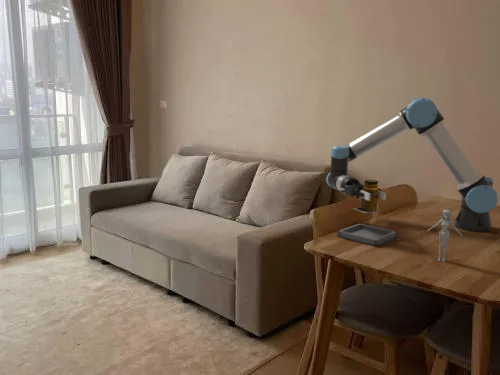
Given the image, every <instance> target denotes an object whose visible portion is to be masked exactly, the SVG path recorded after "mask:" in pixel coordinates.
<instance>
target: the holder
mask: <svg viewBox="0 0 500 375" xmlns="http://www.w3.org/2000/svg"><path fill="white" fill-rule="evenodd" d="M397 234H398V232H397V231H395V230H390V229H386V228H383V227H377V226H372V225H369V224H365V223H364V224H363V223H356V224H354V225H352V226H349V227H348V226H347V227H345V228H343V229H340V230H337V238H340V237H341V239H344V238H345V239H344V240H348V239H349V240H348V241H352V242H355V241H356V243H360V244H364V245H368V246H371V247H379V246H381V245H383V244H385V243H387V242H390V241H392V240H394V239H397V237H398V236H397Z"/></svg>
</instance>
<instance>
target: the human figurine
mask: <svg viewBox="0 0 500 375" xmlns="http://www.w3.org/2000/svg"><path fill="white" fill-rule="evenodd" d="M441 216H442V217H441V219H440V220H439V221H437V223H436V224H433V225H432V226H431V227H430V228H428V229H427V232H429V231H430V230H431V229H433V228H435V227H437V226H438V225H441V227H442V228H441V229H440V230H439V232H438V242H439V245H438V248H439V249H438V259H437V260H438V261H439V262H440V261H442V262H445V261H446V253H447V244H448V242H449V239H450V235H451V233H450V230H448V228H449V227H450V226H451V227H453V229H454V230H455V231H456V232H457V233H458V234H459V235H460V236H461V237H462V238H463V237H464V236H463V234H462V233H461V232H460V231H459V230H458V229H459V228H458V227H456V226H455V225H454V224H453V222H452V220H451V218H452V211H451V210H449V209H443V211H442V215H441ZM442 250H443V253H442ZM442 254H443V257H441V256H442ZM441 258H442V260H441Z"/></svg>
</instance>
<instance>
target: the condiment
mask: <svg viewBox="0 0 500 375" xmlns="http://www.w3.org/2000/svg"><path fill="white" fill-rule="evenodd" d="M378 183H379V181H378V180H375V179H365V180H364V182H363V185H364V187H363V191H365V192H368V193H370V201H368V200H366V199H363V198H361V203H360V204H361V207H353V210H355V211H358V212H361V213H365V214H367V213H368V214H369V213H376V212H381V210H380V209H378V199H379V198H378V188H379V187H378V186H379V184H378Z"/></svg>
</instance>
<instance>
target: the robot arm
mask: <svg viewBox="0 0 500 375" xmlns="http://www.w3.org/2000/svg"><path fill="white" fill-rule="evenodd" d="M444 123H445V118H444V116H443V115H442V113H441V112H440V111H439V109H438V107H437V106H436V104H435V103H434V101H433V100H432V99H430V98H427V97H418V98H415V99H413V100H412V101H410V103H409V104H408V105H406V107H404V108H403V109H401V110H400V111H398V114H397V115H396V116H393V117H392V118H390V119H389V120H387V121H385V122H383V123H382V124H380V125H378V126H377V127H375V128H373V129H371V130H370V131H368V132H367V133H364V134H363V135H361V136H359V137H358V138H357V139H354V140H353V141H351V142H349V143H348V144H346V145H344V146H343V145H334V146H332V148H331V153H330V154H331V156H330V157H331V159H330V172H329V173H327V176H326V178H325V182H326V184H327V185H328V186H329V187H330V188H332V189H334V190H337V191H340V192H341V193H343V194H344V195H348V196H351V197H355V198H356V199H360V198H361V199H362V198H363V199H366V200H368V201H370V193H368V192H365V191H363V187H364V184H362V183H361V182H360V181H359V179H357V178H355V177H353V176H349V175H348V169H349V163H350V162H352V161H355V160H356V159H357V158H359V157H360V156H363V155H364V154H366V153H367V152H370V151H371V150H373V149H375V148H376V147H378V146H380V145H382V144H383V143H385V142H387V141H390V139H392V138H394V137H396V136H397V135H399V134H401V133H403V132H404V131H406V130H409V131H410V130H413V129H414V130H415V131H416V133H417V134H418V135H419V137H420V136H421V137H424V138H425V139H426V141H428V143H429V145H430V146H431V147H432V149H433V151H434V152H435V153H436V155H437V156H438V158H439V159H440V160H441V162H442V163H443V165H444V166H445V167H446V169H447V170H448V172H449V173H450V174H451V176H452V177H453V179H454V181H455V182H456V183H457V187H456V190H457V191H458V193H459V194H460V196H461V200H460V201H461V202H460V209H459V210H458V213H457V214H456V217H455V219H454V224H453V225H454V227H456V228H457V229H462V230H466V231H472V232H481V233H482V232H484V233H485V232H490V231H492V228H493V227H492V226H493V223H492V219H491V214H490V211H492V210H493V209H494V208H495V207H496V205H497V204H498V200H499V199H498V197H499V196H498V193H497V191H496V189H494V188H493V185H494V178H493V177H491V176H485V175H484V174H483V173H480V172H477V170H476V169H475V168H474V166H473V165H472V164H471V162H470V161H469V159H468V157H467V156H466V155H465V153H464V151H463V150H462V149H461V147H460V146H459V145H458V143H457V142H456V140H455V139H454V137H453V136H452V135H451V133H450V132H449V130H448V129H447V127H446V126H445V125H444ZM382 190H383V189H381V188H380V187H378V199H380V200H382V201H386V195H387V194H386V193H387V192H384V191H382Z"/></svg>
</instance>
